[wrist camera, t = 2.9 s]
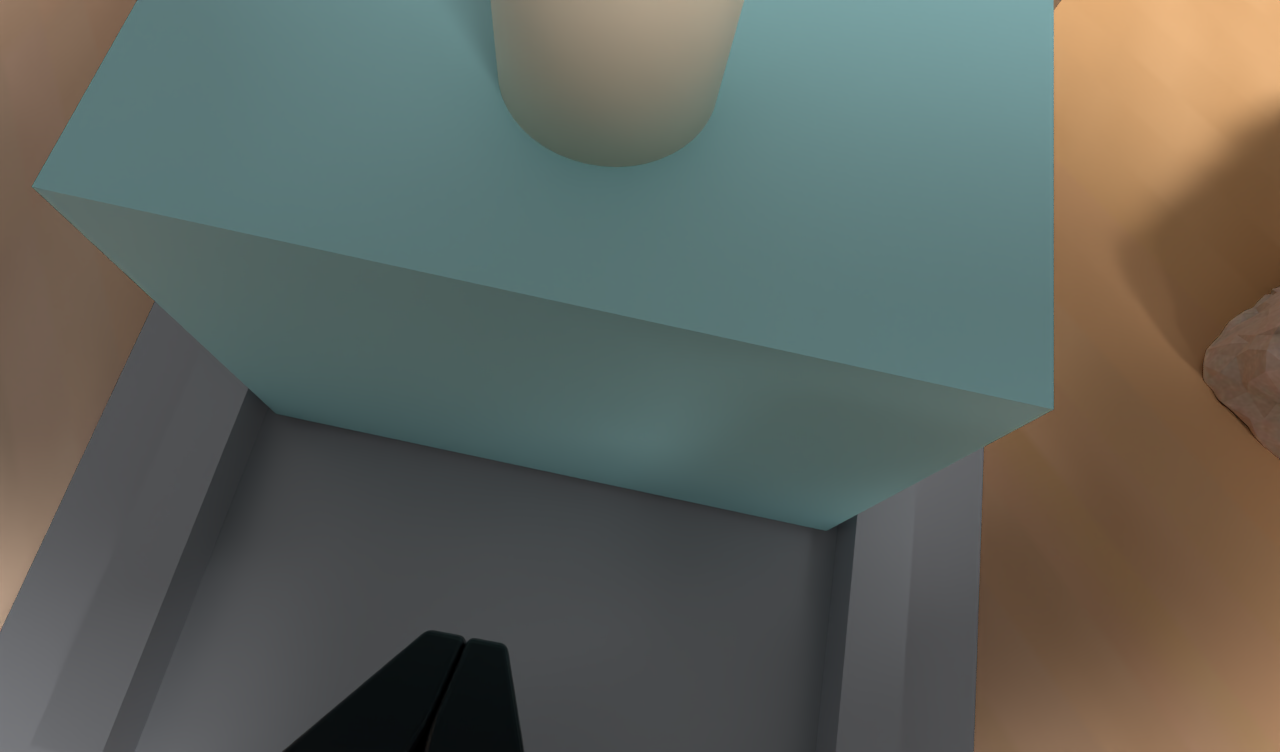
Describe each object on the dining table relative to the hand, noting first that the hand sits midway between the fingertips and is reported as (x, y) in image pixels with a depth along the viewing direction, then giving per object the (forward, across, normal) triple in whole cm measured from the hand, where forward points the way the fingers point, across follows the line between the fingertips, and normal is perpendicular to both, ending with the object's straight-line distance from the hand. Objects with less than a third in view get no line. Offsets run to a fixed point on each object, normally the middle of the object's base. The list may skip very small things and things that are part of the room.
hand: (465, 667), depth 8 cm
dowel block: (+8, 0, -1) cm, 8 cm away
